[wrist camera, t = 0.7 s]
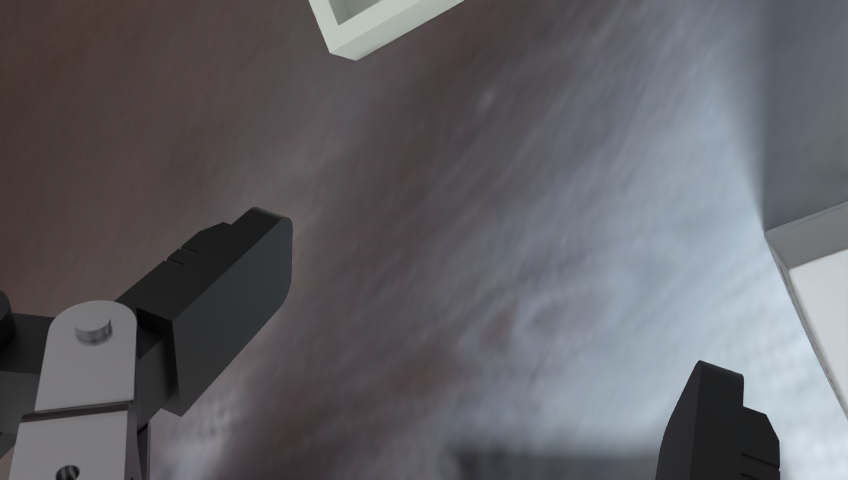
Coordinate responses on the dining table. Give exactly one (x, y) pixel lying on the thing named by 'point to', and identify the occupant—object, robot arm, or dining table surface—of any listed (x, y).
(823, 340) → the supplement box
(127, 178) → the dining table surface
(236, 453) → the dining table surface
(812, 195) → the dining table surface
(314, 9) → the tray
